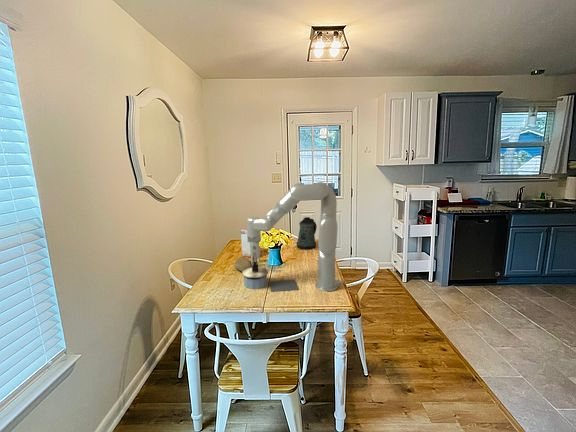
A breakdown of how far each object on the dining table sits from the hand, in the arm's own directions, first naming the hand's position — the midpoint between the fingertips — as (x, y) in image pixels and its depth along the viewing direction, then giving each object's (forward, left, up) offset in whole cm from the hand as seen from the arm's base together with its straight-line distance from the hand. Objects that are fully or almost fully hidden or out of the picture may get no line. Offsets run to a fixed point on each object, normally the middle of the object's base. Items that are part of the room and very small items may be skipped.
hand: (255, 269), depth 181 cm
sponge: (+7, -30, -10) cm, 32 cm away
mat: (-16, +4, -10) cm, 19 cm away
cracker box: (+1, -57, -10) cm, 58 cm away
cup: (0, 0, -10) cm, 10 cm away
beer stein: (-46, -76, -10) cm, 89 cm away
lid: (0, 0, -2) cm, 2 cm away
